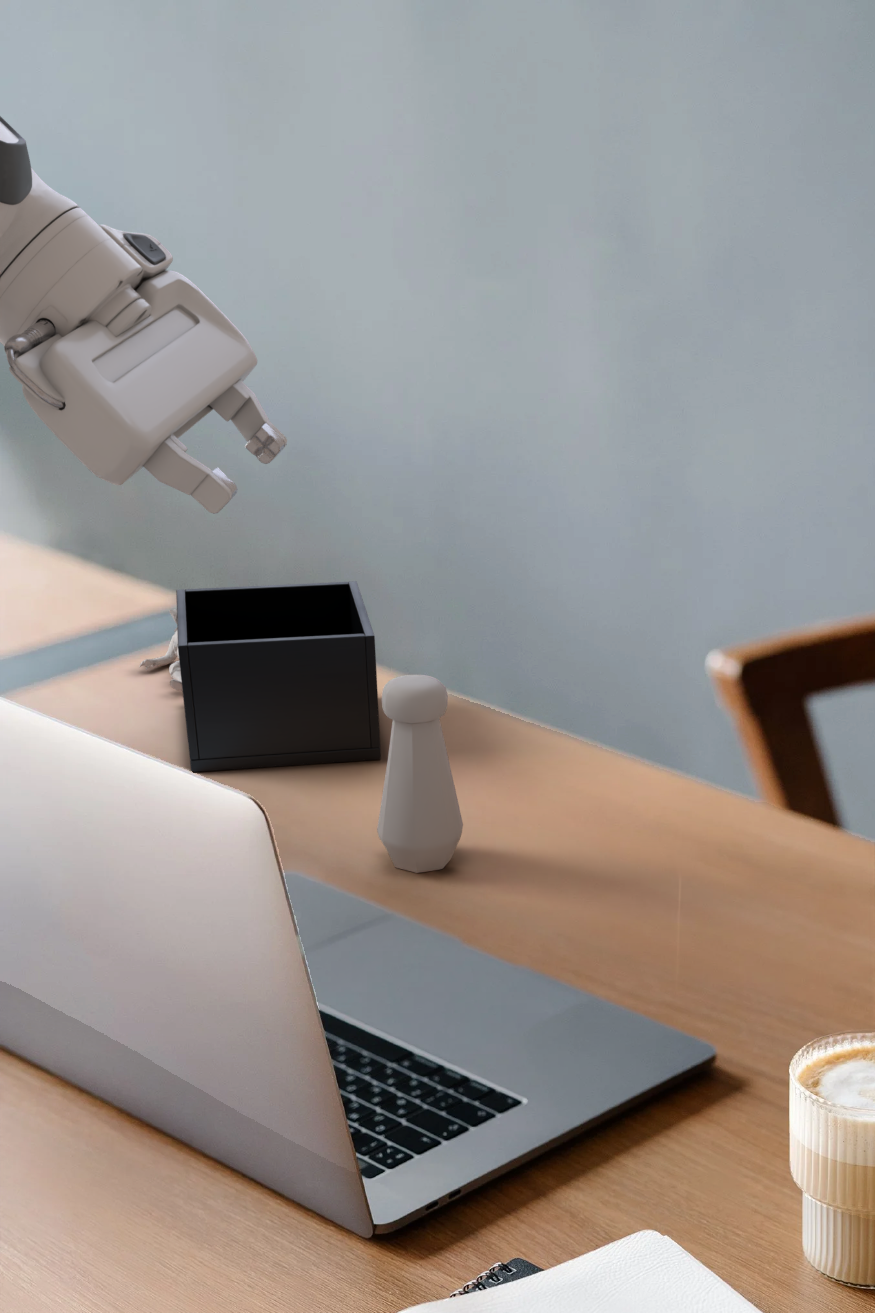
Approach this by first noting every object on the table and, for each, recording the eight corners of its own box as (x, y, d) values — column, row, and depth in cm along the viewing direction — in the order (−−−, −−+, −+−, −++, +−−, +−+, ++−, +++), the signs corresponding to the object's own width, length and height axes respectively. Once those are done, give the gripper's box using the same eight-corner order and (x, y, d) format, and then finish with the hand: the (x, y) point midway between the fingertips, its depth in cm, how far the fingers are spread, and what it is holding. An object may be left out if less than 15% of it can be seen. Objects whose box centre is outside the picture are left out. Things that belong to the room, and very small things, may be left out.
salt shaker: (386, 840, 127) (377, 663, 121) (468, 843, 127) (463, 666, 121) (373, 876, 122) (362, 693, 116) (457, 879, 122) (451, 696, 115)
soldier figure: (145, 707, 152) (121, 624, 159) (189, 734, 155) (163, 651, 163) (207, 646, 150) (180, 565, 157) (250, 675, 153) (222, 594, 161)
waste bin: (191, 772, 137) (177, 645, 132) (188, 707, 149) (176, 589, 145) (381, 759, 140) (374, 635, 135) (363, 696, 152) (356, 580, 148)
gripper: (22, 306, 94) (227, 498, 98) (164, 229, 111) (333, 395, 115) (-41, 390, 97) (160, 572, 101) (107, 302, 114) (274, 462, 118)
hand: (253, 477), depth 108 cm, fingers open, 8 cm apart
